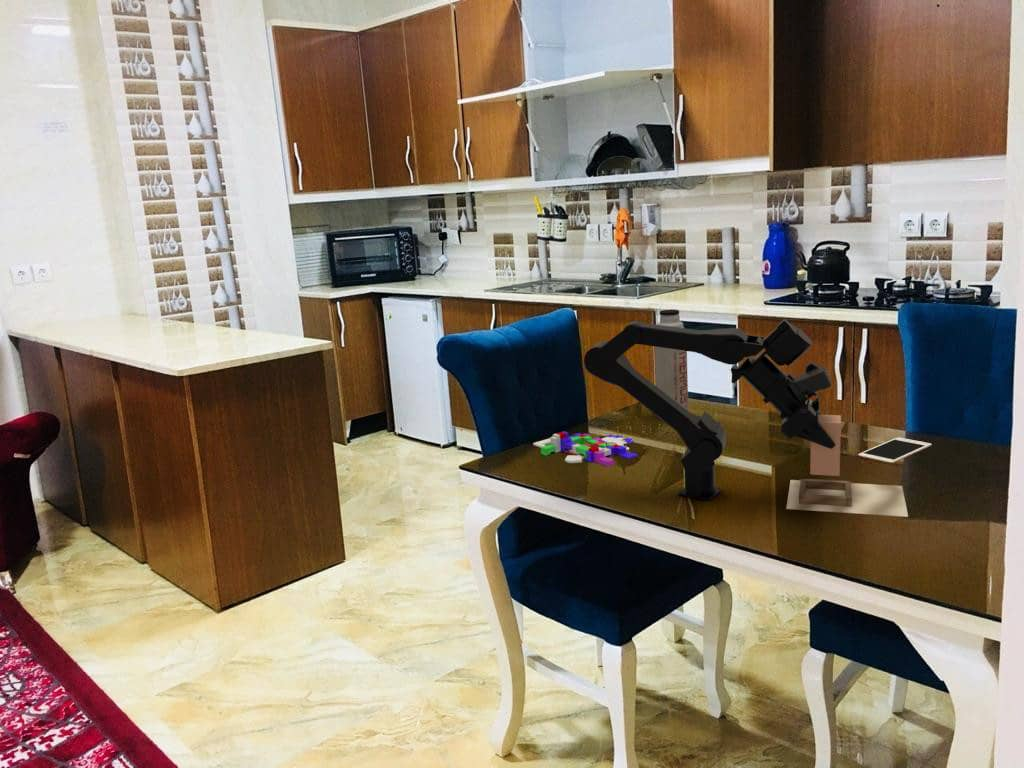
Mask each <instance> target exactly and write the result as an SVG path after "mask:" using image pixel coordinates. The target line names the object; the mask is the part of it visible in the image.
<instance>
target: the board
mask: <svg viewBox="0 0 1024 768" xmlns="http://www.w3.org/2000/svg"><path fill="white" fill-rule="evenodd" d="M785 509H786V510H794V511H795V510H798V511H814V512H815V511H816V512H829V513H845V514H857V515H859V514H860V515H874V516H886V517H887V516H889V517H903V518H904V517H905V518H908V517H909V515H908V514H909V513H908V508H907V503H906V499H905V493H904V489H903V485H894V484H893V485H891V484H873V483H858V482H857V483H856V482H855V483H854V482H852V481H850V480H838V479H837V480H835V479H816V478H800V479H798V480H797V479H790V482H789V489H788V495H787V500H786V508H785Z"/></svg>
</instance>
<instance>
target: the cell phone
mask: <svg viewBox="0 0 1024 768" xmlns="http://www.w3.org/2000/svg"><path fill="white" fill-rule="evenodd" d="M931 446H932V443H930V442H925V441H919V440H913V439H909V438H905V437H895V438H893V439H891V440H888V441H886V442H883V443H881V444H879V445H877V446H874V447H872V448H871V447H870V448H869V449H867V450H865V451H862V452H860V453H858V455H857V456H860V457H862V458H869V459H872V460H877V461H880V462H884V463H885V462H886V463H890V464H894V463H896V462H898V461H900V460H902V459H904V458H907V457H909V456H911V455H914V454H916V453H917V452H920V451H922V450H925V449H927V448H928V447H931Z"/></svg>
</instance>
